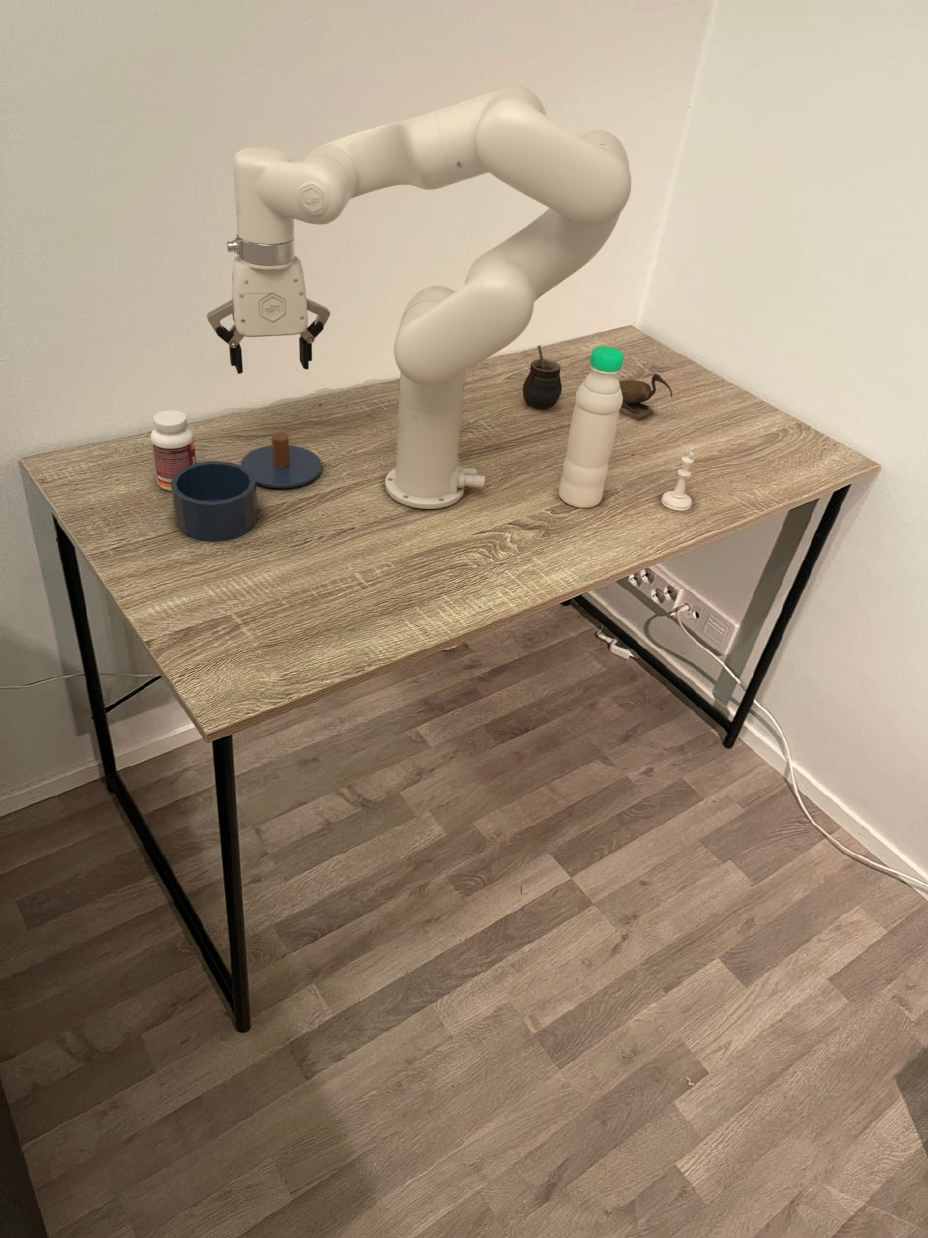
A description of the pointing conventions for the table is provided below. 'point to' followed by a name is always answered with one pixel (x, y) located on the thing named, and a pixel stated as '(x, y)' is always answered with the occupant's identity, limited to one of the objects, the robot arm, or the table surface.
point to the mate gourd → (542, 384)
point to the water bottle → (592, 430)
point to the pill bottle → (171, 446)
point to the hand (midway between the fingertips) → (271, 367)
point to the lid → (282, 464)
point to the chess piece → (680, 486)
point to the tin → (214, 500)
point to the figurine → (638, 397)
